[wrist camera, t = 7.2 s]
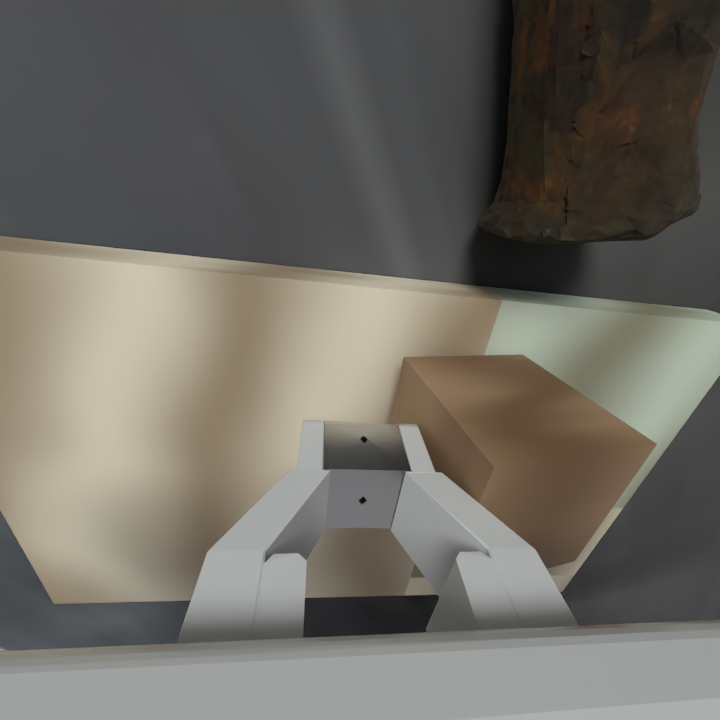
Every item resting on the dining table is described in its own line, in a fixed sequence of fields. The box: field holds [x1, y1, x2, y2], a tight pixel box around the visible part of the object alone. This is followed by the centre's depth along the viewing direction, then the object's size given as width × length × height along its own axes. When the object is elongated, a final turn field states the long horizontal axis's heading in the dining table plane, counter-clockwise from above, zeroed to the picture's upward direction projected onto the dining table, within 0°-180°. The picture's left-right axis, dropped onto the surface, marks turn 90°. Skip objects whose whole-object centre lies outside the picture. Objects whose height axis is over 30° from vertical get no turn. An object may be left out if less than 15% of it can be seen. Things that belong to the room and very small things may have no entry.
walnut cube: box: [390, 355, 657, 569], centre depth 9 cm, size 4×4×4 cm
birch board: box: [0, 236, 720, 604], centre depth 13 cm, size 24×15×2 cm, turn 83°
